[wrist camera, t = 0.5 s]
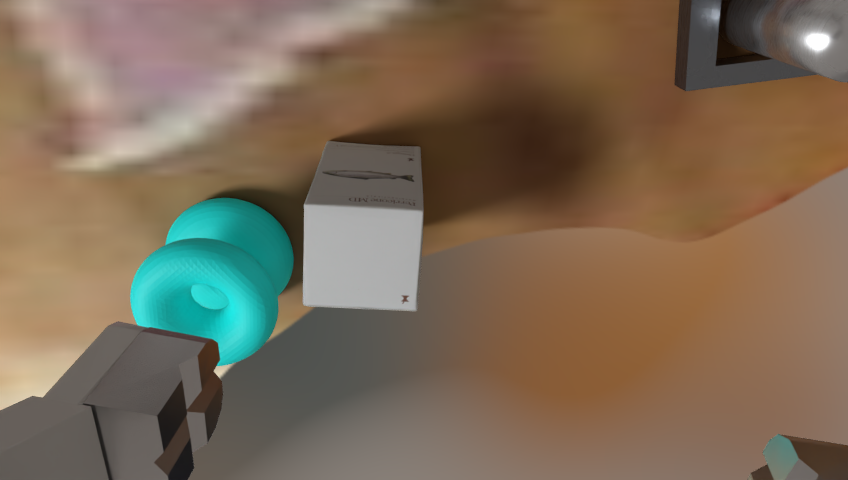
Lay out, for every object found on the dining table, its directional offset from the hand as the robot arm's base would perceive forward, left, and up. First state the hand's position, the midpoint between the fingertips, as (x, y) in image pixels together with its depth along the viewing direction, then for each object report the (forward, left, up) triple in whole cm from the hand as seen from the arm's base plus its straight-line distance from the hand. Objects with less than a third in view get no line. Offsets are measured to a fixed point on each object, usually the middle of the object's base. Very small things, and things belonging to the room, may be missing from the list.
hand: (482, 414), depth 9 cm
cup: (+2, +23, -39) cm, 46 cm away
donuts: (+15, -17, -39) cm, 45 cm away
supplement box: (+11, -5, -39) cm, 41 cm away
